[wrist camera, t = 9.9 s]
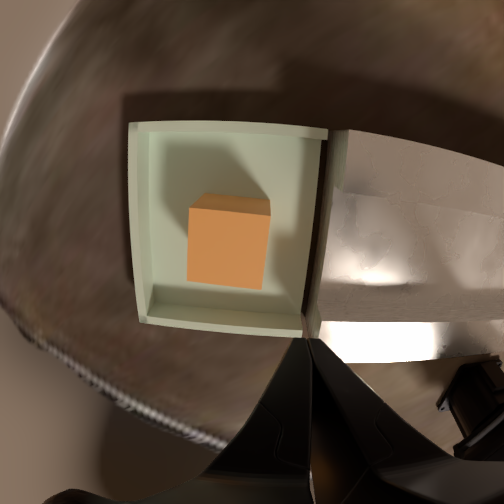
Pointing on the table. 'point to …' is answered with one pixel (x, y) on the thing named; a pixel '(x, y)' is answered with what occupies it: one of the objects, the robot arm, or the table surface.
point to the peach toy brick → (228, 240)
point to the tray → (224, 183)
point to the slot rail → (407, 252)
